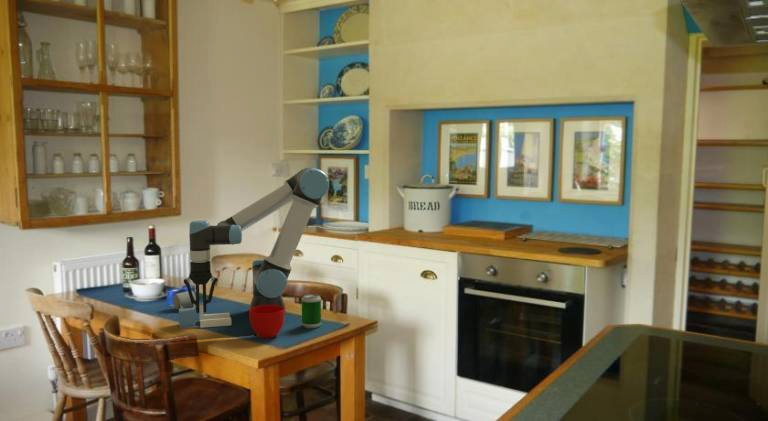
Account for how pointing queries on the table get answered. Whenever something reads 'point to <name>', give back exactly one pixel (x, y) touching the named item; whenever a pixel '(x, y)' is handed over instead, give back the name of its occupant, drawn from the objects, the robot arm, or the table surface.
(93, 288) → the table surface
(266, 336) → the ceramic cup
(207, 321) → the chute
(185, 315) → the block
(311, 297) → the soda can
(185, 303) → the ceramic mug
